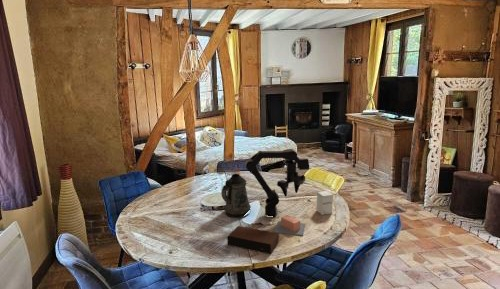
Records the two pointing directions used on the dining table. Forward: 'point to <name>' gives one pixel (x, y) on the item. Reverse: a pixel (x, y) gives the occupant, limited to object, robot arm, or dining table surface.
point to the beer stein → (235, 197)
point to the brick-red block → (290, 223)
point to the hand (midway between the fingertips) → (291, 194)
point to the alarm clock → (253, 239)
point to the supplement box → (324, 202)
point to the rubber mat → (284, 230)
